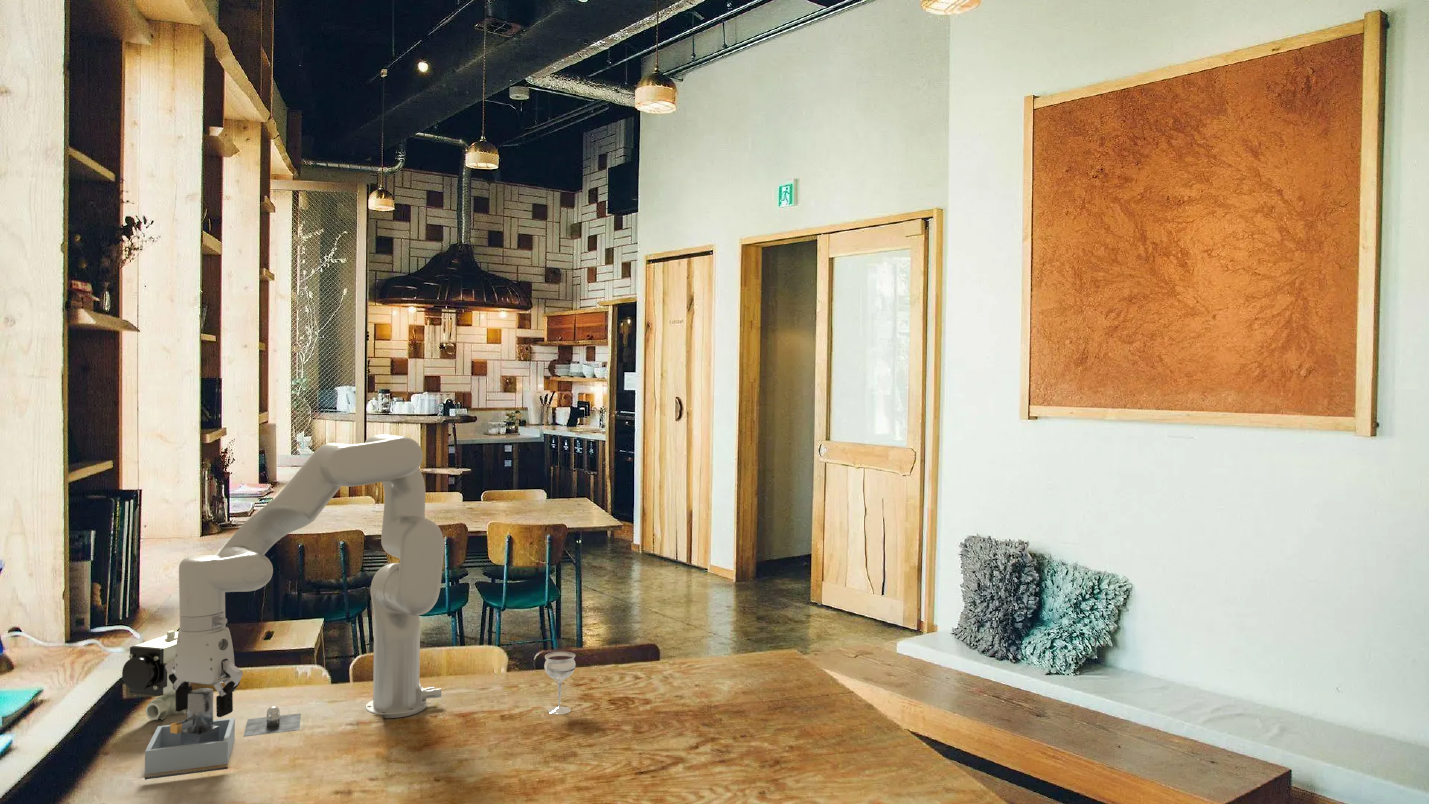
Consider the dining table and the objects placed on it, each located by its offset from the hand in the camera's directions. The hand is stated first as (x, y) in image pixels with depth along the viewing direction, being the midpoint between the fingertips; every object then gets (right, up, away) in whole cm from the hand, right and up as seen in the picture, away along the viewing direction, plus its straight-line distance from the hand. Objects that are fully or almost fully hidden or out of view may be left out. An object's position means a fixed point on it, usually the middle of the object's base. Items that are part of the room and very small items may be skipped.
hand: (204, 711), depth 172 cm
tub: (-1, -8, -2) cm, 9 cm away
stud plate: (+6, -8, +14) cm, 17 cm away
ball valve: (-18, -8, +21) cm, 29 cm away
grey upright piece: (-1, -8, -2) cm, 8 cm away
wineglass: (+62, -9, +28) cm, 69 cm away
